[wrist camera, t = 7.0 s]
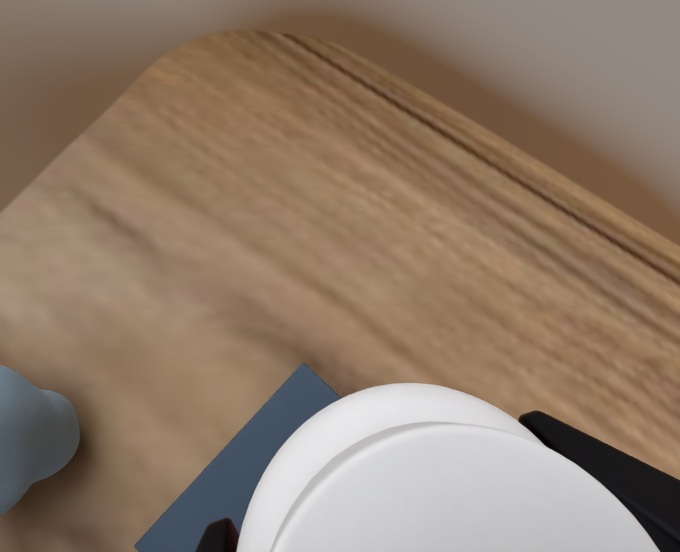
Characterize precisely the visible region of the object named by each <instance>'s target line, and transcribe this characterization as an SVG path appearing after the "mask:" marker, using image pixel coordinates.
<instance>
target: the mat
mask: <svg viewBox="0 0 680 552" xmlns="http://www.w3.org/2000/svg"><path fill="white" fill-rule="evenodd" d="M340 399H342V398H341V397H340V396H339V395H338V394H336V393H335V392H334V391H333V390H332V389H331V388H330V387H329V386H328V385H327V384H326V383H325V382H324V381H323V380H322V379H320V378H319V377H318V376H317V375H316V374H315V373H314V372H313V371H312V370H311V369H310V368H309V367H308V366H307V365H306V364H304V363H302V364H301V365H300V367H299V368H298V369H297V370H296V371H295V372H294V373H293V374H292V375H291V376H290V377H289V378H288V380H287V381H286V382H285V383H284V384H283V385H282V386H281V387H280V388H279V389H278V390H277V391H276V393H275V394H274V395H273V396H272V397H271V398H270V399H269V400H268V401H267V402H266V403H265V404H264V406H263V407H262V408H261V409H260V410H259V411H258V412H257V413H256V414H255V415H254V416H253V417H252V419H251V420H250V421H249V422H248V423H247V424H246V425H245V426H244V427H243V428H242V429H241V430H240V432H239V433H238V434H237V435H236V436H235V437H234V438H233V439H232V440H231V441H230V442H229V443H228V445H227V446H226V447H225V448H224V449H223V450H222V451H221V452H220V453H219V454H218V455H217V456H216V458H215V459H214V460H213V461H212V462H211V463H210V464H209V465H208V466H207V467H206V468H205V469H204V471H203V472H202V473H201V474H200V475H199V476H198V477H197V478H196V479H195V480H194V481H193V482H192V484H191V485H190V486H189V487H188V488H187V489H186V490H185V491H184V492H183V493H182V494H181V495H180V497H179V498H178V499H177V500H176V501H175V502H174V503H173V504H172V505H171V506H170V507H169V508H168V510H167V511H166V512H165V513H164V514H163V515H162V516H161V517H160V518H159V519H158V520H157V521H156V523H155V524H154V525H153V526H152V527H151V528H150V529H149V530H148V531H147V532H146V533H145V534H144V536H143V537H142V538H141V539H140V540H139V541H138V542H137V543H136V544H135V548H136V549H137V550H138V551H139V552H195V551H196V549H197V547H198V545H199V542H200V540H201V538H202V536H203V534H204V531H205V529H206V527H207V526H208V525H209V524H210V523H212V522H214V521H217V520H220V519H223V518H226V517H228V518H230V519H231V520H232V522H233V524H234V526H235V528H236V530H237V532H238V534H239V536H240V532H241V528H242V524H243V521H244V518H245V515H246V512H247V509H248V506H249V503H250V501H251V499H252V496H253V494H254V491H255V489H256V487H257V485H258V483H259V481H260V479H261V477H262V475H263V473H264V472H265V470H266V468H267V467H268V465H269V463H270V462H271V460H272V459H273V457H274V456H275V455H276V453H277V452H278V450H279V449H280V448H281V447H282V445H283V444H284V443H285V442H286V441H287V440H288V438H289V437H290V436H291V435H292V434H293V433H294V432H295V431H296V430H297V429H298V428H299V427H300V426H301V425H302V424H303V423H305V422H306V421H307V420H308V419H310V418H311V417H312V416H314V415H315V414H316V413H317V412H319V411H321V410H322V409H324V408H325V407H327V406H328V405H330V404H332V403H334V402H336V401H338V400H340Z"/></svg>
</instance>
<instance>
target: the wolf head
mask: <svg viewBox="0 0 680 552" xmlns="http://www.w3.org/2000/svg"><path fill="white" fill-rule="evenodd" d="M79 440H80V430H79V423H78V418H77V414H76V411H75V408H74V406H73V405H72V403H71V402H70V401H69V400H68V399H67V398H66V397H64V396H63V395H61V394H59V393H57V392H54V391H50V390H44V389H38V388H36V387H35V386H34V385H33V384H31V383H30V382H29V381H28V380H26V379H25V378H24V377H23V376H22V375H20V374H19V373H17V372H16V371H14V370H12V369H10V368H7V367H5V366H1V365H0V516H1V515H2V514H4V513H6V512H7V511H8V510H10V509H11V508H12V507H13V506H14V505H15V504H16V503H17V502H18V501H19V500H20V499H21V497H22V496H23V495H24V494H25V492H26V491H27V490H28V488H29V487H30V486H31V484H32V483H34V482H37V481H39V480H42V479H45V478H47V477H49V476H51V475H53V474H55V473H56V472H58V471H59V470H60V469H62V468H63V467H64V466H65V465H66V464H67V463H68V462H69V461H70V460H71V458H72V457H73V456H74V454H75V452H76V450H77V447H78V445H79Z"/></svg>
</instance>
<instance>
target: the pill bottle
mask: <svg viewBox="0 0 680 552" xmlns="http://www.w3.org/2000/svg"><path fill="white" fill-rule="evenodd" d="M236 552H660V551H659V549H658V548H657V546H656V545H655V544H654V542H653V541H652V539H651V538H650V536H649V535H648V533H647V532H646V531H645V530H644V528H643V527H642V526H641V525H640V523H639V522H638V521H637V519H636V518H635V517H634V516H633V515H632V514H631V513H630V512H629V510H628V509H627V508H626V507H625V506H624V505H623V504H622V503H621V502H620V501H619V500H618V499H617V498H616V497H615V496H614V495H613V494H612V493H611V492H610V491H609V490H608V489H606V488H605V487H604V486H603V485H602V484H601V483H600V482H598V481H597V480H596V479H595V478H594V477H592V476H591V475H590V474H588V473H587V472H586V471H584V470H583V469H582V468H580V467H579V466H578V465H576V464H575V463H573V462H572V461H570V460H568V459H567V458H565V457H564V456H562V455H560V454H559V453H557V452H555V451H553V450H551V449H549V448H547V447H546V446H545V445H544V444H543V443H542V442H541V441H540V440H539V439H538V438H537V437H536V436H535V435H534V434H533V433H532V432H530V431H529V430H528V429H527V428H526V427H524V426H523V425H522V424H520V423H519V422H518V421H517V420H515V419H514V418H513V417H511V416H510V415H508V414H506V413H505V412H503V411H502V410H500V409H498V408H497V407H495V406H493V405H491V404H489V403H487V402H485V401H483V400H481V399H479V398H476V397H474V396H472V395H469V394H467V393H463V392H460V391H457V390H454V389H450V388H446V387H443V386H439V385H431V384H421V383H397V384H388V385H382V386H376V387H371V388H368V389H364V390H362V391H359V392H356V393H353V394H350V395H348V396H346V397H344V398H342V399H340V400H338V401H336V402H334V403H332V404H330V405H328V406H327V407H325V408H324V409H322V410H321V411H319V412H317V413H316V414H315V415H314V416H312V417H311V418H310V419H308V420H307V421H306V422H305V423H303V424H302V425H301V426H300V427H299V428H298V429H297V430H296V431H295V432H294V433H293V434H292V435H291V436H290V437H289V438H288V440H287V441H286V442H285V443H284V444H283V445H282V447H281V448H280V449H279V450H278V452H277V453H276V455H275V456H274V457H273V459H272V460H271V462H270V463H269V465H268V467H267V468H266V470H265V472H264V473H263V475H262V477H261V479H260V481H259V483H258V485H257V487H256V489H255V491H254V494H253V496H252V499H251V501H250V503H249V506H248V509H247V512H246V515H245V518H244V521H243V524H242V528H241V532H240V536H239V541H238V546H237V551H236Z"/></svg>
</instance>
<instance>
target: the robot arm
mask: <svg viewBox="0 0 680 552" xmlns="http://www.w3.org/2000/svg"><path fill="white" fill-rule="evenodd" d="M518 422H519V423H520V424H522V425H523V426H524V427H526V428H527V429H528V430H529V431H530V432H532V433H533V434H534V435H535V436H536V437H537V438H538V439H539V440H540V441H541V442H542V443H543V444H544V445H545V446H546V447H547V448H549V449H551V450H553V451H555V452H557V453H559V454H560V455H562V456H564V457H565V458H567V459H568V460H570V461H572V462H573V463H575V464H576V465H578V466H579V467H580V468H582V469H583V470H584V471H586V472H587V473H588V474H590V475H591V476H592V477H594V478H595V479H596V480H597V481H598V482H600V483H601V484H602V485H603V486H604V487H605V488H606V489H608V490H609V491H610V492H611V493H612V494H613V495H614V496H615V497H616V498H617V499H618V500H619V501H620V502H621V503H622V504H623V505H624V506H625V507H626V508H627V509H628V510H629V512H630V513H631V514H632V515H633V516H634V517H635V518H636V519H637V521H638V522H639V523H640V525H641V526H642V527H643V528H644V530H645V531H646V532H647V533H648V535H649V536H650V538H651V539H652V541H653V542H654V544H655V545H656V546H657V548H658V549H659V551H660V552H680V480H678V479H676V478H674V477H672V476H670V475H668V474H666V473H664V472H662V471H660V470H658V469H656V468H654V467H652V466H650V465H648V464H646V463H644V462H642V461H640V460H638V459H636V458H634V457H632V456H630V455H628V454H626V453H624V452H622V451H620V450H618V449H616V448H614V447H612V446H610V445H608V444H606V443H604V442H602V441H600V440H598V439H596V438H594V437H592V436H589V435H587V434H585V433H583V432H581V431H579V430H577V429H575V428H573V427H571V426H569V425H567V424H565V423H563V422H561V421H559V420H557V419H555V418H553V417H551V416H549V415H547V414H545V413H543V412H541V411H532V412H529V413H526V414H523V415H521V416H520V417H519V421H518ZM238 541H239V534H238V532H237V530H236V528H235V526H234V524H233V522H232V520H231V519H230V518H228V517H226V518H223V519H220V520H217V521H214V522H212V523H210V524H209V525H208V526H207V527H206V529H205V531H204V534H203V536H202V538H201V540H200V542H199V545H198V547H197V549H196V551H195V552H236V551H237V546H238Z"/></svg>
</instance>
